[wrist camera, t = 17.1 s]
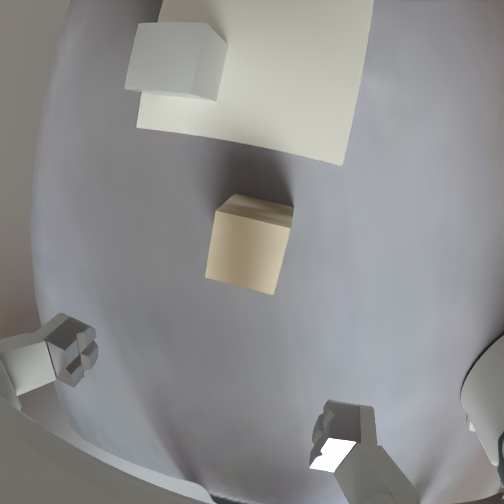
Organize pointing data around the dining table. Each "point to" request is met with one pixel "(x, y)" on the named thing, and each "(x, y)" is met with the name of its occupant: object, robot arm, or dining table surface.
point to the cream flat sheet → (274, 75)
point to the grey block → (177, 60)
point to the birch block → (249, 242)
